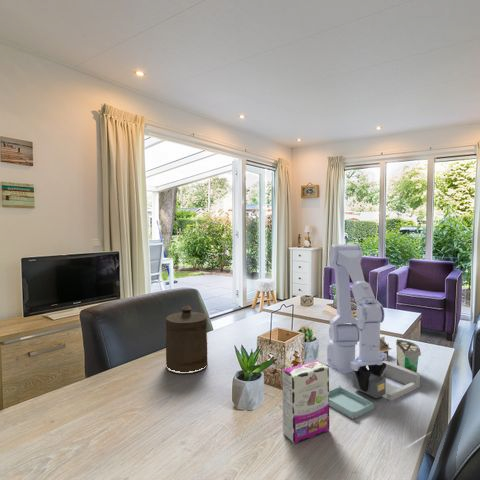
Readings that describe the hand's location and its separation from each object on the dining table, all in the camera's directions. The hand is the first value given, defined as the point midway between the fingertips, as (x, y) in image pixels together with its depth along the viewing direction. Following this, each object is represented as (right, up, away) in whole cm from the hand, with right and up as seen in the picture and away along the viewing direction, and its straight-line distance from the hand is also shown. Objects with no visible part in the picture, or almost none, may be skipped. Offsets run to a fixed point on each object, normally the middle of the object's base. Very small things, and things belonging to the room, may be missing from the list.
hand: (368, 387), depth 103 cm
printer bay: (+8, -2, +5) cm, 10 cm away
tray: (-9, -3, -5) cm, 10 cm away
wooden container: (-58, -2, +22) cm, 62 cm away
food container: (+19, -2, +14) cm, 23 cm away
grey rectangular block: (0, -1, 0) cm, 1 cm away
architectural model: (+16, -1, +30) cm, 34 cm away
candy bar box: (-22, -4, -18) cm, 29 cm away
